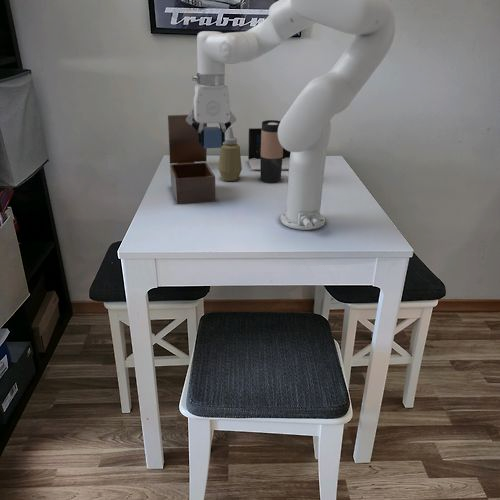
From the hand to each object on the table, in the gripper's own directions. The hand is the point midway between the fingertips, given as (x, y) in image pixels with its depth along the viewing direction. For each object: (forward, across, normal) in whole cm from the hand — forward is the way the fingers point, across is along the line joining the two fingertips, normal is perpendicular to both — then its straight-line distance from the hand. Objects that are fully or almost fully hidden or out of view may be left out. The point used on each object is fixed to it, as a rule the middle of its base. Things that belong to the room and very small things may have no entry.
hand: (211, 144), depth 139 cm
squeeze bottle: (+18, +10, +19) cm, 29 cm away
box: (+18, -5, +7) cm, 20 cm away
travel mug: (+18, +24, +16) cm, 34 cm away
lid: (+2, -5, +13) cm, 14 cm away
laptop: (+18, +30, +31) cm, 47 cm away
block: (0, 0, 0) cm, 0 cm away
